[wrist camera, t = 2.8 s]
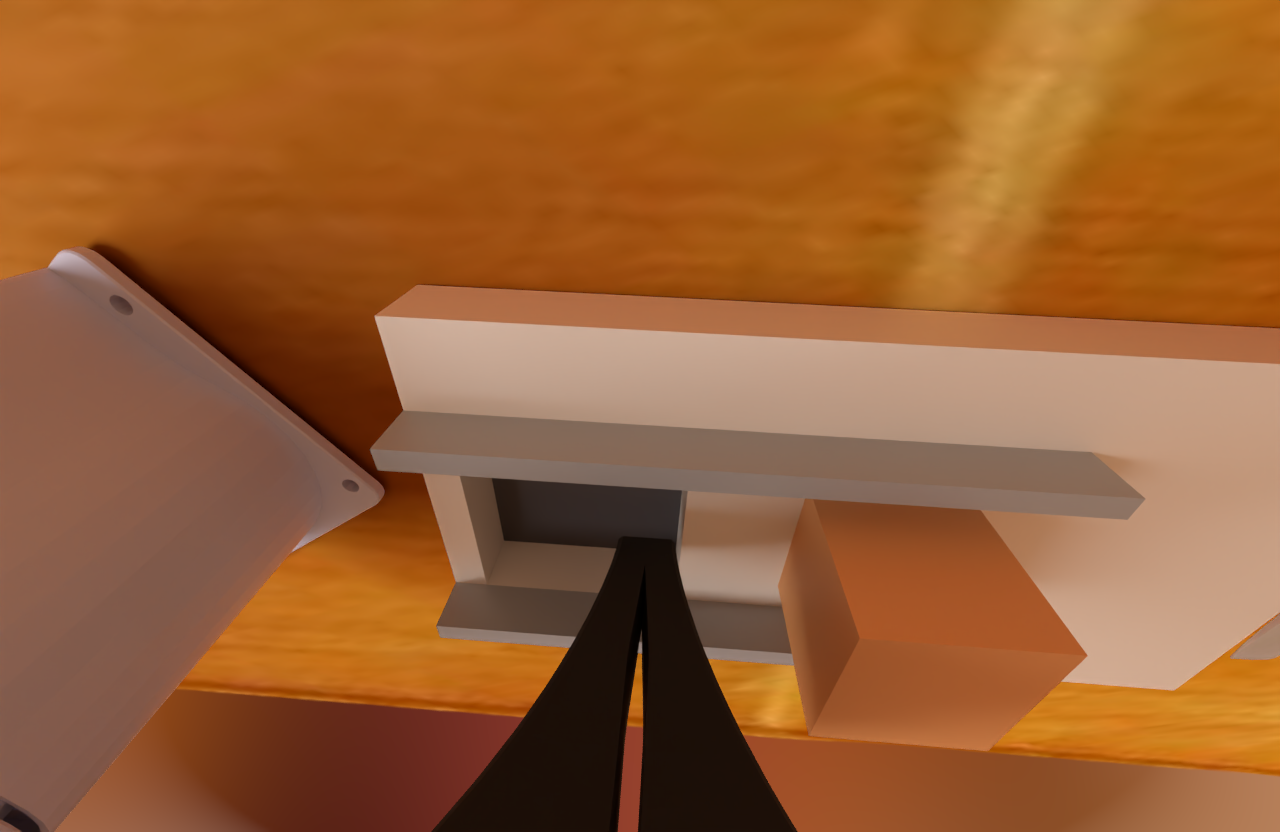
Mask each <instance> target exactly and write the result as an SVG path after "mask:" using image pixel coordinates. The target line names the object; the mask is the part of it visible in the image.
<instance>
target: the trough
mask: <svg viewBox="0 0 1280 832" xmlns="http://www.w3.org/2000/svg"><path fill="white" fill-rule="evenodd" d="M374 317H375V320H376V323H377V326H378V330H379V333H380V336H381V339H382V343H383V346H384V349H385V352H386V356H387V359H388V362H389V365H390V369H391V372H392V375H393V378H394V382H395V385H396V388H397V392H398V395H399V398H400V401H401V405H402V408H403V411H402V412H401V414H400V415H399V416H398V417H397V418H396V419H395V420H394V422H393V423H392V424H391V425H390V426H389V427H388V429H387V430H386V431H385V432H384V433H383V434H382V435H381V437H380V438H379V439H378V440H377V441H376V442H375V443H374V445H373V446H372V447H371V448H370V452H371V454H372V457H373V459H374V462H375V465H376V467H377V470H379V471H394V472H410V473H423V476H424V480H425V483H426V486H427V489H428V493H429V496H430V499H431V502H432V506H433V509H434V512H435V515H436V519H437V522H438V525H439V528H440V532H441V535H442V538H443V541H444V545H445V548H446V551H447V554H448V558H449V561H450V564H451V567H452V571H453V574H454V577H455V581H456V584H455V586H454V588H453V590H452V592H451V595H450V597H449V599H448V601H447V603H446V606H445V608H444V610H443V612H442V614H441V617H440V619H439V621H438V623H437V625H436V627H437V629H438V632H439V635H440V637H441V638H453V639H466V640H478V641H491V642H504V643H516V644H529V645H542V646H554V647H567V648H570V647H571V645H572V643H573V641H574V640H575V638H576V636H577V634H578V632H579V630H580V629H581V627H582V625H583V623H584V621H585V620H586V618H587V616H588V614H589V612H590V610H591V608H592V606H593V604H594V602H595V599H596V597H597V595H598V593H599V591H600V589H601V587H602V585H603V582H604V580H605V578H606V575H607V573H608V570H609V568H610V565H611V563H612V560H613V557H614V554H615V551H616V547H617V543H618V539H619V538H621V537H622V536H630V537H644V538H658V539H671V540H672V541H674V542H675V547H676V555H677V561H678V567H679V571H680V576H681V580H682V584H683V588H684V591H685V595H686V598H687V602H688V605H689V608H690V611H691V614H692V617H693V620H694V623H695V626H696V629H697V632H698V635H699V637H700V640H701V643H702V645H703V648H704V651H705V653H706V656H707V658H708V659H719V660H732V661H744V662H757V663H770V664H782V665H794V662H793V657H792V652H791V647H790V642H789V638H788V633H787V628H786V623H785V618H784V613H783V609H782V604H781V599H780V594H779V589H778V584H779V581H780V577H781V574H782V571H783V568H784V564H785V561H786V558H787V555H788V552H789V548H790V545H791V542H792V539H793V536H794V532H795V529H796V526H797V523H798V520H799V516H800V513H801V510H802V507H803V504H804V500H805V499H820V500H835V501H850V502H865V503H881V504H896V505H911V506H926V507H941V508H956V509H972V510H981V511H982V513H983V514H984V515H985V517H986V518H987V519H988V521H989V522H990V523H991V525H992V526H993V527H994V529H995V530H996V532H997V533H998V534H999V536H1000V537H1001V538H1002V540H1003V541H1004V542H1005V544H1006V545H1007V547H1008V548H1009V549H1010V551H1011V552H1012V553H1013V555H1014V556H1015V557H1016V559H1017V560H1018V561H1019V563H1020V564H1021V566H1022V567H1023V568H1024V570H1025V571H1026V572H1027V574H1028V575H1029V576H1030V578H1031V579H1032V581H1033V582H1034V583H1035V585H1036V586H1037V587H1038V589H1039V590H1040V591H1041V593H1042V594H1043V595H1044V597H1045V598H1046V600H1047V601H1048V602H1049V604H1050V605H1051V606H1052V608H1053V609H1054V610H1055V612H1056V613H1057V614H1058V616H1059V617H1060V619H1061V620H1062V621H1063V623H1064V624H1065V625H1066V627H1067V628H1068V629H1069V631H1070V632H1071V634H1072V635H1073V636H1074V638H1075V639H1076V640H1077V642H1078V643H1079V644H1080V646H1081V647H1082V648H1083V650H1084V651H1085V653H1086V654H1087V655H1088V656H1087V657H1086V658H1085V659H1084V660H1083V661H1082V662H1081V663H1080V664H1079V665H1078V666H1077V667H1076V668H1075V669H1074V670H1073V671H1071V672H1070V673H1069V674H1068V675H1067V676H1066V677H1065V678H1064V679H1063V680H1062V682H1074V683H1087V684H1100V685H1112V686H1125V687H1138V688H1151V689H1163V690H1175V689H1177V688H1178V687H1180V686H1181V685H1182V684H1184V683H1185V682H1186V681H1188V680H1189V679H1190V678H1192V677H1193V676H1194V675H1196V674H1197V673H1198V672H1200V671H1201V670H1202V669H1204V668H1205V667H1207V666H1208V665H1209V664H1211V663H1212V662H1213V661H1215V660H1216V659H1217V658H1219V657H1220V656H1221V655H1223V654H1224V653H1225V652H1227V651H1228V650H1229V649H1231V648H1232V647H1234V646H1235V645H1236V644H1238V643H1239V642H1240V641H1242V640H1243V639H1244V638H1246V637H1247V636H1248V635H1250V634H1251V633H1252V632H1254V631H1255V630H1256V629H1258V628H1259V627H1261V626H1262V625H1263V624H1265V623H1266V622H1267V621H1269V620H1270V619H1271V618H1273V617H1274V616H1275V615H1277V614H1278V613H1279V612H1280V328H1263V327H1243V326H1224V325H1204V324H1184V323H1164V322H1145V321H1125V320H1105V319H1085V318H1066V317H1046V316H1026V315H1006V314H987V313H967V312H947V311H927V310H908V309H888V308H868V307H848V306H829V305H809V304H789V303H769V302H750V301H730V300H710V299H690V298H671V297H651V296H631V295H611V294H592V293H572V292H552V291H532V290H513V289H493V288H473V287H453V286H434V285H416V286H415V287H414V288H412V289H411V290H409V291H408V292H407V293H405V294H404V295H402V296H401V297H400V298H398V299H397V300H396V301H394V302H393V303H391V304H390V305H389V306H387V307H386V308H385V309H383V310H382V311H380V312H379V313H378V314H376V315H375V316H374ZM638 653H642V629H641V636H640V642H639V649H638Z"/></svg>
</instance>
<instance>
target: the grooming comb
mask: <svg viewBox="0 0 1280 832" xmlns="http://www.w3.org/2000/svg"><path fill="white" fill-rule="evenodd" d="M1279 655H1280V614H1279V615H1278V616H1277V617H1276V618H1274V619H1273V620H1272V621H1270V622H1269V623H1268V624H1267V625H1265V626H1264V627H1263V628H1262V629H1261V630H1259V631H1258V632H1257V633H1256V634H1255V635H1253V636H1252V637H1251V638H1250V639H1249V640H1247V641H1246V642H1245V643H1244V644H1243V645H1242V646H1241V647H1239V648H1238V649H1237V650H1236V651H1235V652H1234V653H1233V654H1232V655H1231V656H1230V658H1232V659H1250V660H1266V659H1272V658H1276V657H1277V656H1279Z"/></svg>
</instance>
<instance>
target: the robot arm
mask: <svg viewBox="0 0 1280 832" xmlns="http://www.w3.org/2000/svg"><path fill="white" fill-rule="evenodd" d="M384 493H385V491H384V488H383V486H382V485H381V484H380V483H379V482H378V481H377V480H376V479H374V478H373V477H372V476H371V475H369V474H368V473H367V472H366V471H365V470H363V469H362V468H361V467H360V466H358V465H357V464H356V463H355V462H354V461H352V460H351V459H350V458H349V457H347V456H346V455H345V454H344V453H343V452H341V451H340V450H339V449H338V448H336V447H335V446H334V445H333V444H332V443H330V442H329V441H328V440H327V439H325V438H324V437H323V436H322V435H321V434H319V433H318V432H317V431H316V430H314V429H313V428H312V427H311V426H310V425H308V424H307V423H306V422H305V421H303V420H302V419H301V418H300V417H299V416H297V415H296V414H295V413H294V412H292V411H291V410H290V409H289V408H288V407H286V406H285V405H284V404H283V403H281V402H280V401H279V400H278V399H276V398H275V397H274V396H273V395H272V394H270V393H269V392H268V391H267V390H265V389H264V388H263V387H262V386H261V385H259V384H258V383H257V382H256V381H254V380H253V379H252V378H251V377H250V376H248V375H247V374H246V373H245V372H243V371H242V370H241V369H240V368H239V367H237V366H236V365H235V364H234V363H232V362H231V361H230V360H229V359H228V358H226V357H225V356H224V355H223V354H221V353H220V352H219V351H218V350H217V349H215V348H214V347H213V346H212V345H210V344H209V343H208V342H207V341H206V340H204V339H203V338H202V337H201V336H199V335H198V334H197V333H196V332H195V331H193V330H192V329H191V328H190V327H188V326H187V325H186V324H185V323H184V322H182V321H181V320H180V319H179V318H177V317H176V316H175V315H174V314H173V313H171V312H170V311H169V310H168V309H166V308H165V307H164V306H163V305H161V304H160V303H159V302H158V301H157V300H155V299H154V298H153V297H152V296H150V295H149V294H148V293H147V292H146V291H144V290H143V289H142V288H141V287H139V286H138V285H137V284H136V283H135V282H133V281H132V280H131V279H130V278H128V277H127V276H126V275H125V274H124V273H122V272H121V271H120V270H119V269H117V268H116V267H115V266H114V265H113V264H111V263H110V262H109V261H108V260H106V259H105V258H104V257H103V256H101V255H100V254H98V253H97V252H95V251H93V250H91V249H88V248H85V247H73V248H69V249H65V250H62V251H60V252H59V253H58V254H57V255H56V256H55V258H54V259H53V261H52V262H51V263H50V265H49V266H48V267H47V268H43V269H39V270H36V271H32V272H28V273H25V274H21V275H17V276H14V277H10V278H6V279H2V280H0V832H54V831H55V830H56V829H57V828H58V826H59V825H60V824H61V823H62V822H63V821H64V819H65V818H66V817H67V816H68V815H69V813H70V812H71V811H72V810H73V809H74V808H75V807H76V805H77V804H78V803H79V802H80V801H81V799H82V798H83V797H84V796H85V795H86V794H87V792H88V791H89V790H90V789H91V787H92V786H93V785H94V784H95V783H96V782H97V781H98V779H99V778H100V777H101V776H102V775H103V773H104V772H105V771H106V770H107V769H108V768H109V766H110V765H111V764H112V763H113V762H114V760H115V759H116V758H117V757H118V756H119V755H120V753H121V752H122V751H123V750H124V749H125V747H126V746H127V745H128V744H129V742H131V740H132V739H133V738H134V737H135V736H136V735H137V733H138V732H139V731H140V730H141V729H142V727H143V726H144V725H145V724H146V723H147V722H148V720H149V719H150V718H151V717H152V716H153V714H154V713H155V712H156V711H157V710H158V708H159V707H160V706H161V705H162V704H163V703H164V701H165V700H166V699H167V698H168V697H169V696H170V694H171V693H172V692H173V691H174V690H175V688H176V687H177V686H178V685H179V684H180V683H181V681H182V680H183V679H184V678H185V677H186V676H187V674H188V673H189V672H190V671H191V670H192V668H193V667H194V666H195V665H196V664H197V663H198V661H199V660H200V659H201V658H202V657H203V655H204V654H205V653H206V652H207V651H208V650H209V648H210V647H211V646H212V645H213V644H214V642H215V641H216V640H217V639H218V638H219V637H220V635H221V634H222V633H223V632H224V631H225V629H226V628H227V627H228V626H229V625H230V624H231V622H232V621H233V620H234V619H235V618H236V616H237V615H238V614H239V613H240V612H241V611H242V609H243V608H244V607H245V606H246V605H247V604H248V602H249V601H250V600H251V599H252V598H253V596H254V595H255V594H256V593H257V592H258V591H259V589H260V588H261V587H262V586H263V585H264V583H265V582H266V581H267V580H268V579H269V578H270V576H271V575H272V574H273V573H274V572H275V570H276V569H277V568H278V567H279V566H280V565H281V563H282V562H283V561H284V560H285V559H286V557H287V556H288V555H289V554H290V553H291V552H293V551H295V550H297V549H299V548H300V547H302V546H304V545H306V544H307V543H309V542H311V541H313V540H315V539H316V538H318V537H320V536H322V535H323V534H325V533H327V532H329V531H330V530H332V529H334V528H336V527H338V526H339V525H341V524H343V523H345V522H346V521H348V520H350V519H352V518H354V517H355V516H357V515H359V514H361V513H362V512H364V511H366V510H368V509H370V508H371V507H373V506H375V505H377V504H378V503H379V502H380V500H381V499H382V497H383V496H384ZM641 629H642V680H643V753H642V771H641V789H640V806H639V824H638V832H797V831H796V828H795V827H794V825H793V824H792V822H791V820H790V819H789V817H788V815H787V814H786V812H785V810H784V809H783V807H782V805H781V804H780V802H779V800H778V798H777V797H776V795H775V793H774V791H773V790H772V788H771V786H770V785H769V783H768V781H767V779H766V778H765V776H764V774H763V772H762V770H761V768H760V766H759V764H758V763H757V761H756V759H755V757H754V755H753V754H752V751H751V750H750V748H749V746H748V744H747V742H746V740H745V738H744V737H743V735H742V733H741V731H740V729H739V727H738V725H737V723H736V721H735V719H734V717H733V714H732V712H731V710H730V708H729V706H728V704H727V702H726V700H725V698H724V695H723V693H722V691H721V689H720V687H719V684H718V682H717V680H716V678H715V675H714V673H713V670H712V668H711V666H710V663H709V661H708V658H707V656H706V653H705V651H704V648H703V645H702V643H701V640H700V637H699V635H698V632H697V629H696V626H695V623H694V620H693V617H692V614H691V611H690V608H689V605H688V602H687V598H686V595H685V591H684V588H683V584H682V580H681V576H680V571H679V567H678V561H677V555H676V547H675V542H674V541H672V540H671V539H658V538H644V537H630V536H622V537H621V538H619V539H618V543H617V547H616V551H615V554H614V557H613V560H612V563H611V565H610V568H609V570H608V573H607V575H606V578H605V580H604V582H603V585H602V587H601V589H600V591H599V593H598V595H597V597H596V599H595V602H594V604H593V606H592V608H591V610H590V612H589V614H588V616H587V618H586V620H585V621H584V623H583V625H582V627H581V629H580V630H579V632H578V634H577V636H576V638H575V640H574V641H573V643H572V645H571V647H570V648H569V650H568V652H567V654H566V655H565V657H564V659H563V660H562V662H561V663H560V665H559V667H558V668H557V670H556V671H555V673H554V675H553V676H552V678H551V679H550V681H549V682H548V684H547V685H546V687H545V688H544V690H543V691H542V693H541V694H540V696H539V697H538V699H537V700H536V701H535V703H534V704H533V706H532V707H531V709H530V710H529V712H528V713H527V714H526V716H525V717H524V719H523V720H522V721H521V723H520V724H519V725H518V727H517V728H516V730H515V731H514V733H513V734H512V735H511V736H510V738H509V739H508V740H507V741H506V743H505V744H504V745H503V746H502V748H501V749H500V750H499V752H498V753H497V754H496V755H495V757H494V758H493V759H492V761H491V762H490V763H489V764H488V766H487V767H486V768H485V769H484V771H483V772H482V773H481V775H480V776H479V777H478V778H477V779H476V780H475V782H474V783H473V784H472V785H471V787H470V788H469V789H468V790H467V791H466V792H465V794H464V795H463V796H462V797H461V798H460V799H459V800H458V802H457V803H456V804H455V805H454V806H453V807H452V809H451V810H450V811H449V812H448V813H447V814H446V815H445V817H444V818H443V819H442V820H441V821H440V822H439V824H438V825H437V826H436V827H435V828H434V829H433V831H432V832H618V820H619V807H620V795H621V781H622V769H623V755H624V744H625V735H626V727H627V719H628V713H629V706H630V700H631V693H632V687H633V681H634V674H635V668H636V661H637V655H638V649H639V642H640V636H641Z"/></svg>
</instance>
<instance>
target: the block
mask: <svg viewBox="0 0 1280 832" xmlns="http://www.w3.org/2000/svg"><path fill="white" fill-rule="evenodd" d="M778 589H779V594H780V599H781V604H782V609H783V613H784V618H785V623H786V628H787V633H788V638H789V642H790V647H791V652H792V657H793V662H794V667H795V671H796V676H797V681H798V686H799V691H800V696H801V700H802V705H803V710H804V715H805V720H806V725H807V729H808V734H809V736H816V737H828V738H840V739H851V740H863V741H875V742H887V743H899V744H911V745H922V746H934V747H946V748H958V749H970V750H982V751H988V750H989V749H990V748H991V747H992V746H994V745H995V744H996V743H997V742H998V741H999V740H1000V739H1001V738H1002V737H1003V736H1004V735H1005V734H1006V733H1007V732H1008V731H1009V730H1010V729H1011V728H1012V727H1014V726H1015V725H1016V724H1017V723H1018V722H1019V721H1020V720H1021V719H1022V718H1023V717H1024V716H1025V715H1026V714H1027V713H1028V712H1029V711H1030V710H1031V709H1032V708H1034V707H1035V706H1036V705H1037V704H1038V703H1039V702H1040V701H1041V700H1042V699H1043V698H1044V697H1045V696H1046V695H1047V694H1048V693H1049V692H1050V691H1051V690H1053V689H1054V688H1055V687H1056V686H1057V685H1058V684H1059V683H1060V682H1061V681H1062V680H1063V679H1064V678H1065V677H1066V676H1067V675H1068V674H1069V673H1070V672H1071V671H1073V670H1074V669H1075V668H1076V667H1077V666H1078V665H1079V664H1080V663H1081V662H1082V661H1083V660H1084V659H1085V658H1086V657H1087V656H1088V655H1087V654H1086V653H1085V651H1084V650H1083V648H1082V647H1081V646H1080V644H1079V643H1078V642H1077V640H1076V639H1075V638H1074V636H1073V635H1072V634H1071V632H1070V631H1069V629H1068V628H1067V627H1066V625H1065V624H1064V623H1063V621H1062V620H1061V619H1060V617H1059V616H1058V614H1057V613H1056V612H1055V610H1054V609H1053V608H1052V606H1051V605H1050V604H1049V602H1048V601H1047V600H1046V598H1045V597H1044V595H1043V594H1042V593H1041V591H1040V590H1039V589H1038V587H1037V586H1036V585H1035V583H1034V582H1033V581H1032V579H1031V578H1030V576H1029V575H1028V574H1027V572H1026V571H1025V570H1024V568H1023V567H1022V566H1021V564H1020V563H1019V561H1018V560H1017V559H1016V557H1015V556H1014V555H1013V553H1012V552H1011V551H1010V549H1009V548H1008V547H1007V545H1006V544H1005V542H1004V541H1003V540H1002V538H1001V537H1000V536H999V534H998V533H997V532H996V530H995V529H994V527H993V526H992V525H991V523H990V522H989V521H988V519H987V518H986V517H985V515H984V514H983V513H982V511H981V510H972V509H956V508H941V507H926V506H911V505H896V504H881V503H865V502H850V501H835V500H820V499H805V500H804V504H803V507H802V510H801V513H800V516H799V520H798V523H797V526H796V529H795V532H794V536H793V539H792V542H791V545H790V548H789V552H788V555H787V558H786V561H785V564H784V568H783V571H782V574H781V577H780V581H779V584H778Z"/></svg>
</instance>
